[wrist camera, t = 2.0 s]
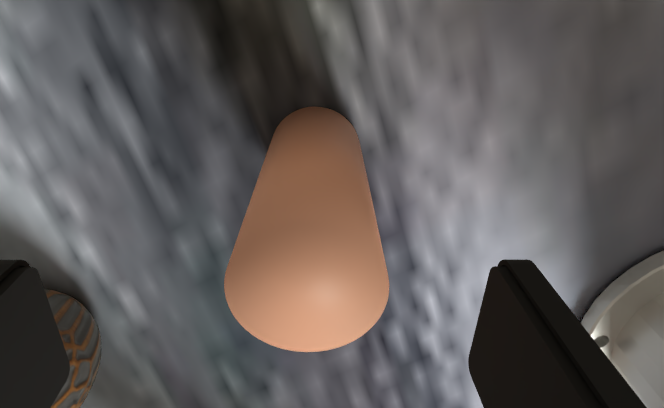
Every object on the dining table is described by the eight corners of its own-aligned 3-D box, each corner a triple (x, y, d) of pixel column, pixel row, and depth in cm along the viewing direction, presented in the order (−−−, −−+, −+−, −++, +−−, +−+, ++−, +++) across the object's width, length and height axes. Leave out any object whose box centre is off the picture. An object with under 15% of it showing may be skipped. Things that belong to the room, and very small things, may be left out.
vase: (58, 380, 26) (-58, 553, 18) (-42, 302, 23) (-230, 466, 15) (147, 334, 24) (63, 501, 16) (52, 244, 22) (-103, 393, 14)
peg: (362, 107, 19) (396, 221, 10) (357, 192, 20) (382, 353, 12) (269, 105, 19) (217, 217, 10) (272, 190, 20) (230, 350, 11)
